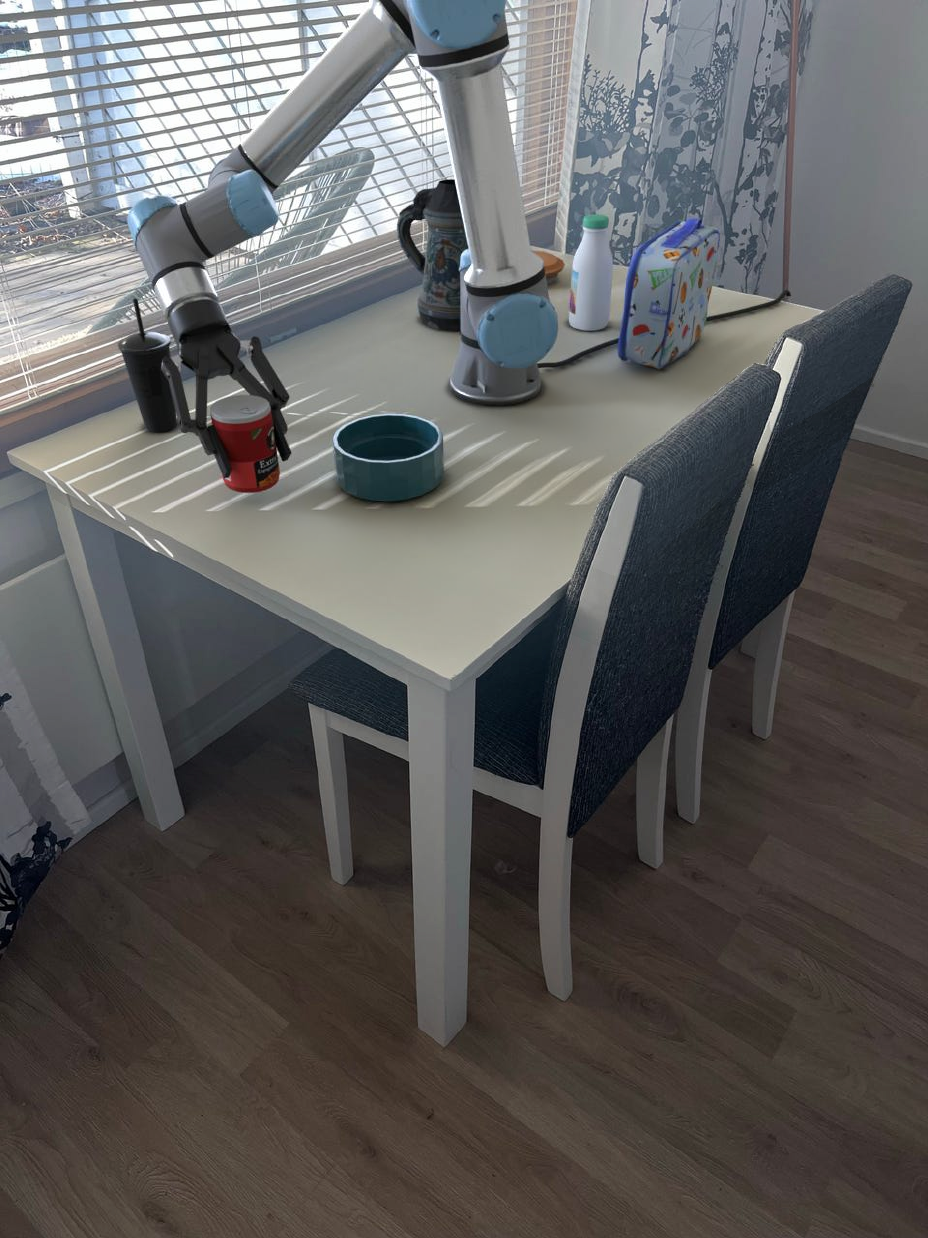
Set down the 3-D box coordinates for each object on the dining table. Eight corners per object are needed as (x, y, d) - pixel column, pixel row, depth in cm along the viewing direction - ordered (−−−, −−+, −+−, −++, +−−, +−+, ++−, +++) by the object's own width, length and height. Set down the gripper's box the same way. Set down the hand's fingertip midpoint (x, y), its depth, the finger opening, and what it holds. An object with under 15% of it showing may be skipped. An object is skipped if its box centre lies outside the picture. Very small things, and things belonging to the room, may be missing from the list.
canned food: (269, 496, 129) (257, 420, 122) (213, 491, 130) (199, 416, 124) (289, 469, 135) (278, 396, 128) (235, 465, 136) (222, 392, 130)
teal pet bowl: (432, 449, 145) (430, 409, 141) (453, 497, 133) (452, 455, 129) (331, 459, 143) (327, 419, 139) (344, 510, 131) (340, 467, 127)
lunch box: (660, 322, 188) (674, 202, 175) (712, 331, 184) (730, 209, 171) (608, 371, 169) (620, 241, 155) (665, 382, 165) (682, 249, 151)
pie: (487, 289, 204) (487, 265, 201) (497, 267, 216) (498, 244, 213) (560, 293, 202) (561, 269, 199) (566, 270, 214) (567, 247, 211)
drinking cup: (195, 419, 154) (172, 293, 142) (168, 439, 148) (142, 310, 136) (154, 412, 156) (128, 288, 144) (126, 432, 150) (96, 304, 138)
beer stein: (508, 329, 185) (511, 190, 170) (408, 335, 183) (402, 195, 168) (492, 300, 198) (493, 170, 183) (398, 306, 196) (392, 174, 181)
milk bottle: (614, 322, 188) (624, 214, 176) (597, 334, 183) (606, 224, 171) (579, 315, 191) (586, 208, 179) (561, 326, 186) (567, 218, 174)
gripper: (259, 310, 137) (321, 455, 136) (115, 340, 128) (180, 496, 127) (269, 282, 130) (334, 435, 129) (118, 312, 122) (186, 476, 120)
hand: (257, 465), depth 128 cm, fingers closed on canned food, 8 cm apart
